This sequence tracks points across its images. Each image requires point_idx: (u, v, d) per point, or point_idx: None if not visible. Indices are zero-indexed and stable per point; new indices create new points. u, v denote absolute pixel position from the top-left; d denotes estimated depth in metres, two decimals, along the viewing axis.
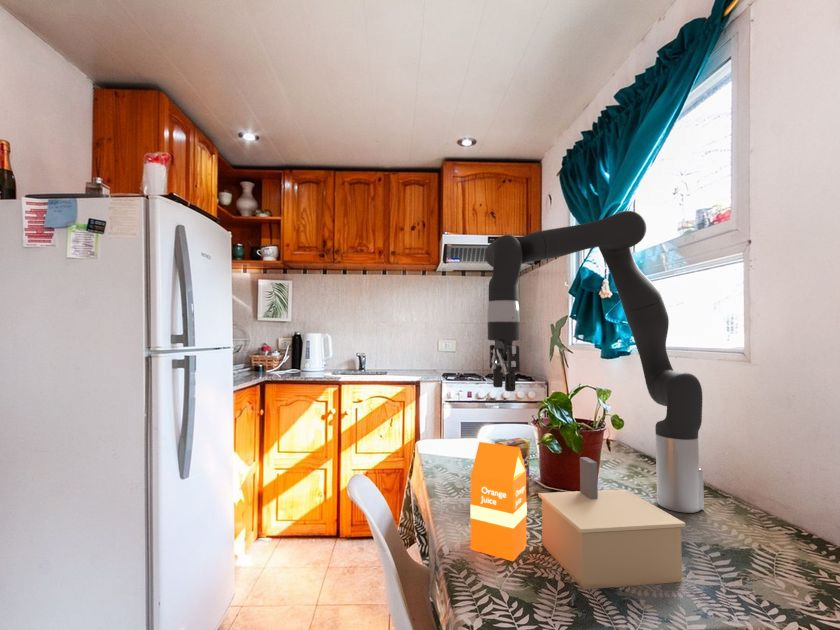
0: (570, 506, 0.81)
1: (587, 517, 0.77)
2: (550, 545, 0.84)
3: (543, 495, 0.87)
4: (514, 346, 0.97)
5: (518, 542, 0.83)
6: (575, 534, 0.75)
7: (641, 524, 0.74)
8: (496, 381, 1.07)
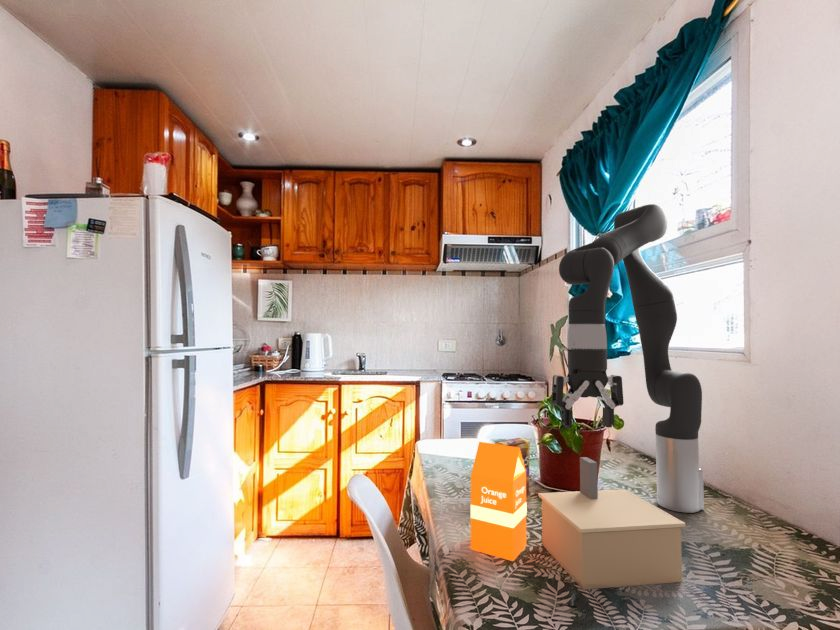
0: (570, 506, 0.81)
1: (587, 517, 0.77)
2: (550, 545, 0.84)
3: (543, 495, 0.87)
4: None
5: (518, 542, 0.83)
6: (575, 534, 0.75)
7: (641, 524, 0.74)
8: None
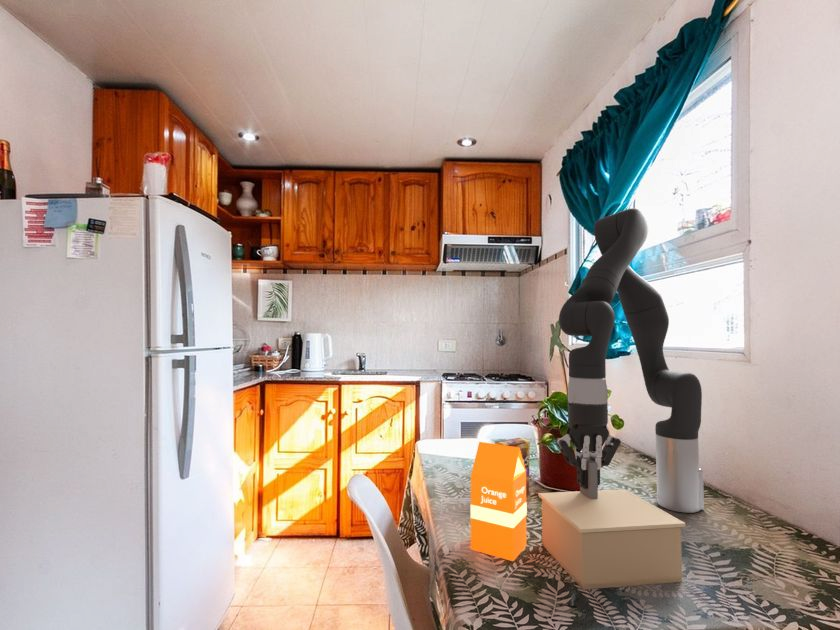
0: (570, 506, 0.81)
1: (587, 517, 0.77)
2: (550, 545, 0.84)
3: (543, 495, 0.87)
4: None
5: (518, 542, 0.83)
6: (575, 534, 0.75)
7: (641, 524, 0.74)
8: None
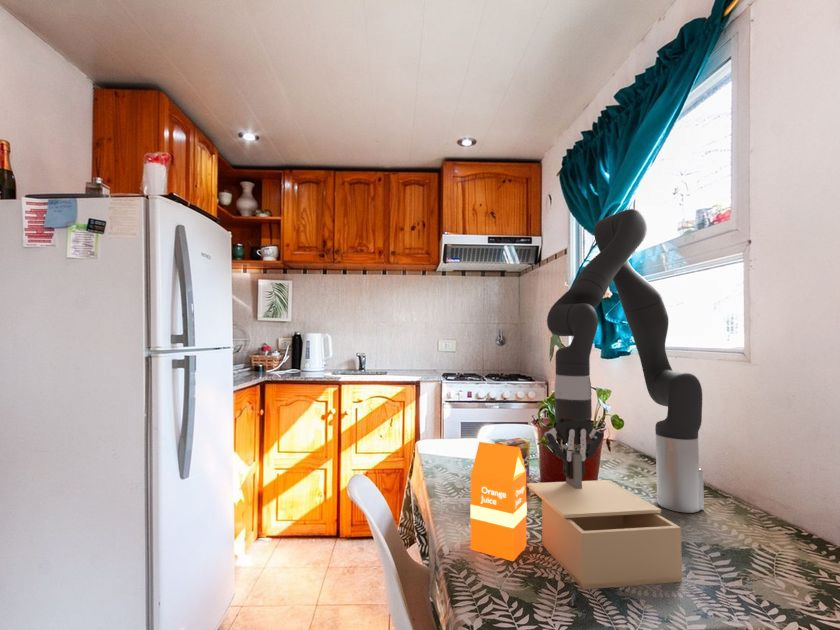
0: (555, 495, 0.87)
1: (570, 504, 0.83)
2: (550, 545, 0.84)
3: (531, 485, 0.93)
4: None
5: (518, 542, 0.83)
6: (575, 534, 0.75)
7: (620, 510, 0.80)
8: None
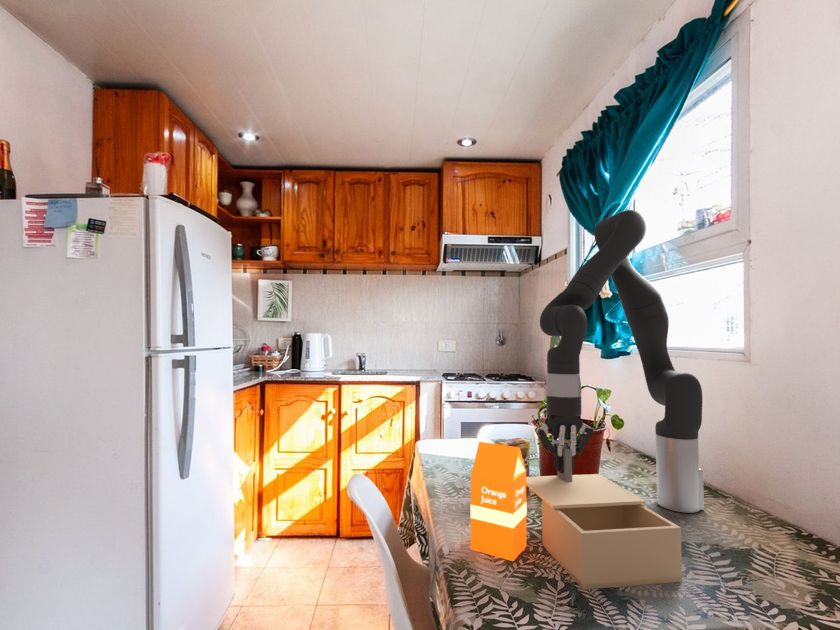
0: (546, 488, 0.92)
1: (560, 496, 0.87)
2: (550, 545, 0.84)
3: None
4: None
5: (518, 542, 0.83)
6: (575, 534, 0.75)
7: (606, 501, 0.84)
8: None
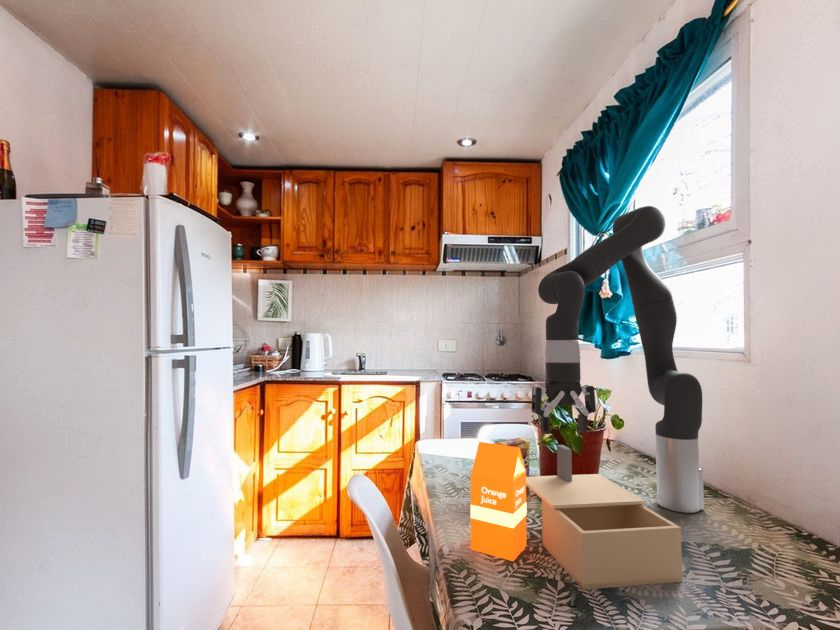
0: (546, 488, 0.92)
1: (560, 496, 0.87)
2: (550, 545, 0.84)
3: None
4: None
5: (518, 542, 0.83)
6: (575, 534, 0.75)
7: (606, 501, 0.84)
8: None
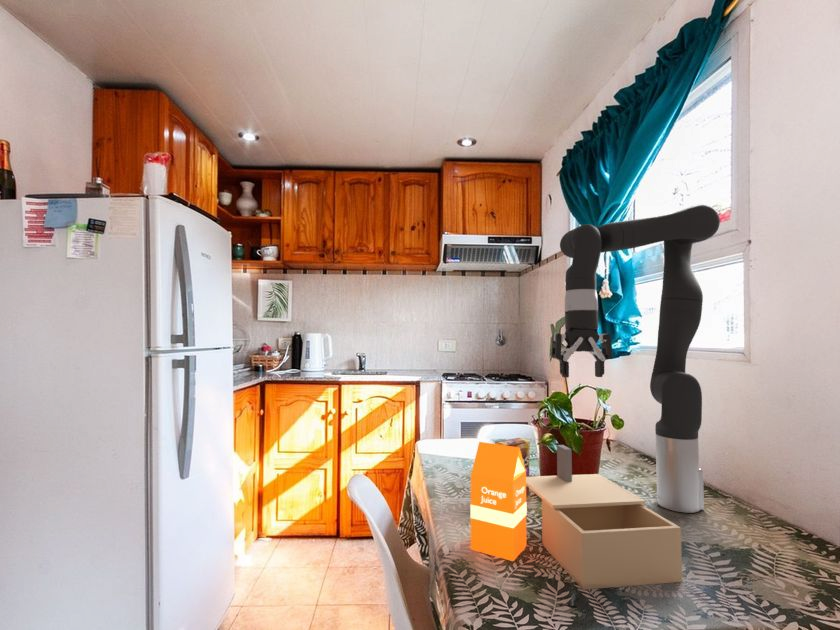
0: (546, 488, 0.92)
1: (560, 496, 0.87)
2: (550, 545, 0.84)
3: None
4: None
5: (518, 542, 0.83)
6: (575, 534, 0.75)
7: (606, 501, 0.84)
8: None
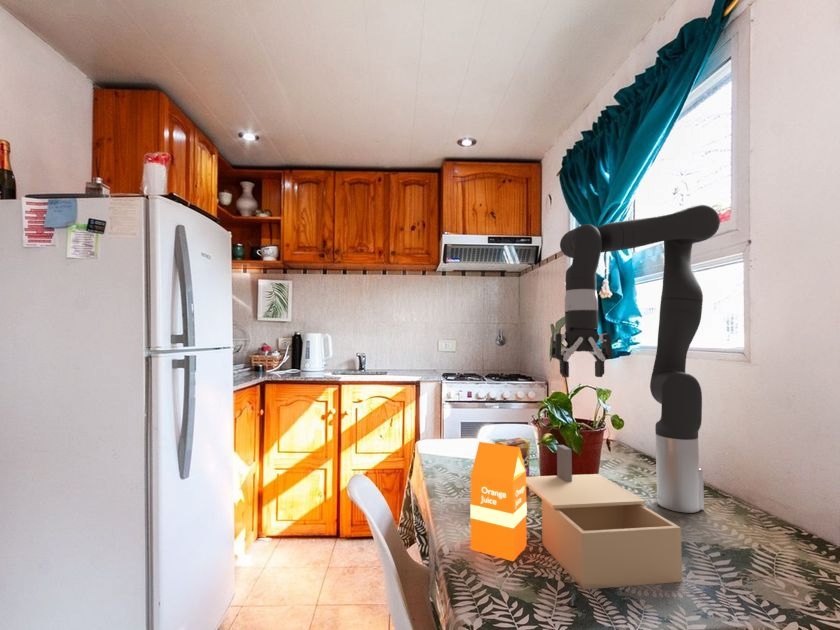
0: (546, 488, 0.92)
1: (560, 496, 0.87)
2: (550, 545, 0.84)
3: None
4: None
5: (518, 542, 0.83)
6: (575, 534, 0.75)
7: (606, 501, 0.84)
8: None
